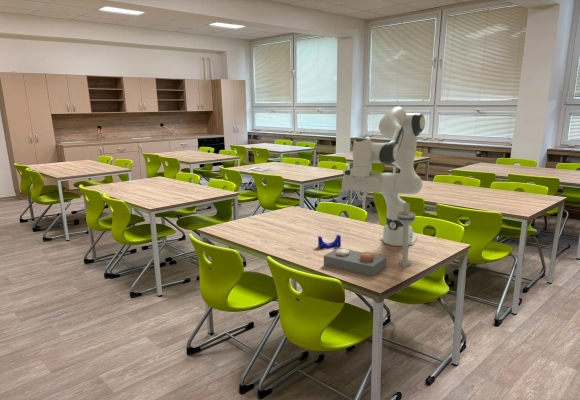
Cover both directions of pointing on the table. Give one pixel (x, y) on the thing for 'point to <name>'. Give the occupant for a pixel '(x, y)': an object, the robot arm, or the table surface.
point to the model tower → (405, 232)
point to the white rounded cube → (342, 252)
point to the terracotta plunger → (366, 256)
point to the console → (355, 263)
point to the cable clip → (329, 245)
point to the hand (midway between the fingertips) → (361, 200)
